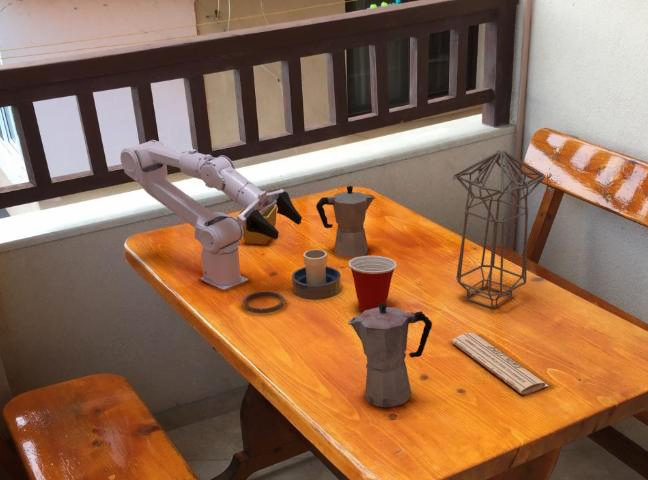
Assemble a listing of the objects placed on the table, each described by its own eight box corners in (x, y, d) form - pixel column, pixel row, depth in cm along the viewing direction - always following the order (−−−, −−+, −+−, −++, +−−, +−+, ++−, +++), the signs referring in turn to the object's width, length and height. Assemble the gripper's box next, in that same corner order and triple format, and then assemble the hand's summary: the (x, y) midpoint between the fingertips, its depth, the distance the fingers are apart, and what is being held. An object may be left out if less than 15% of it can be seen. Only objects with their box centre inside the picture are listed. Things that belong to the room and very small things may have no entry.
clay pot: (300, 288, 208) (298, 254, 203) (317, 281, 211) (315, 247, 206) (315, 295, 204) (314, 260, 200) (333, 288, 208) (331, 253, 203)
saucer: (235, 306, 202) (235, 300, 201) (266, 293, 207) (266, 287, 206) (261, 318, 196) (260, 313, 195) (292, 305, 201) (292, 299, 201)
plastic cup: (403, 304, 201) (404, 256, 195) (385, 324, 193) (385, 275, 186) (361, 296, 205) (360, 249, 198) (341, 315, 197) (340, 267, 190)
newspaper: (451, 344, 184) (451, 337, 183) (478, 336, 187) (479, 329, 186) (520, 396, 166) (521, 388, 166) (549, 386, 169) (550, 378, 168)
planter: (282, 290, 208) (281, 275, 206) (318, 276, 215) (317, 261, 213) (315, 305, 201) (314, 290, 199) (350, 290, 208) (350, 274, 206)
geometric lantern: (483, 278, 212) (493, 136, 193) (537, 298, 202) (552, 150, 184) (442, 299, 203) (448, 152, 184) (495, 320, 193) (508, 167, 175)
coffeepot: (371, 242, 232) (370, 178, 223) (379, 256, 224) (379, 189, 215) (315, 248, 230) (312, 183, 220) (321, 262, 222) (319, 195, 212)
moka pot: (348, 385, 171) (346, 294, 160) (425, 380, 172) (427, 289, 161) (352, 411, 163) (350, 317, 152) (433, 406, 164) (436, 313, 153)
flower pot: (270, 248, 230) (268, 216, 225) (239, 246, 232) (236, 214, 227) (279, 236, 237) (277, 205, 233) (248, 234, 239) (246, 203, 234)
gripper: (224, 194, 188) (269, 230, 185) (269, 167, 196) (313, 201, 193) (221, 217, 194) (264, 252, 191) (265, 190, 202) (308, 223, 199)
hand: (288, 228), depth 192 cm, fingers open, 7 cm apart
